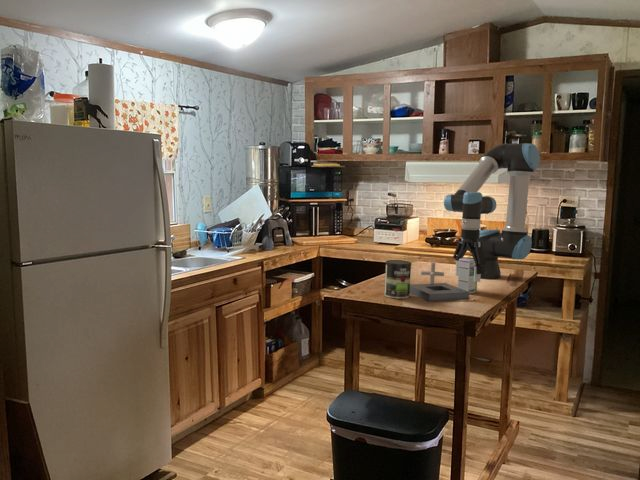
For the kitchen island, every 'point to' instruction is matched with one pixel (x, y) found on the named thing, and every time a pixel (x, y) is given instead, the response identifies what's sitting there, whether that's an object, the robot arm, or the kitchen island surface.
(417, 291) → the square hole plate
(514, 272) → the kitchen island surface
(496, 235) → the robot arm
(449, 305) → the kitchen island surface
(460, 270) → the syrup box
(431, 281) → the pipe connector
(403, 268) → the coffee can
